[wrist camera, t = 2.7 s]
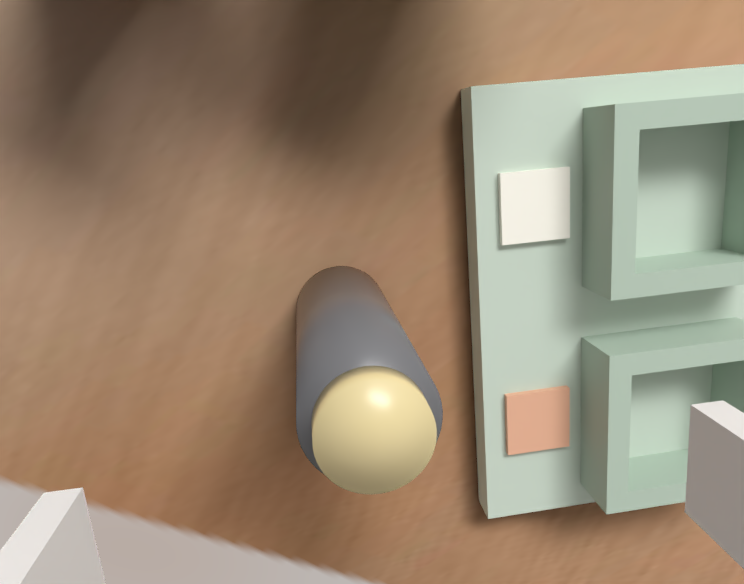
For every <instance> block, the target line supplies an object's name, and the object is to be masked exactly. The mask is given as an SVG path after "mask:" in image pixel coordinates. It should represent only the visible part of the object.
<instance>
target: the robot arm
mask: <svg viewBox="0 0 744 584" xmlns="http://www.w3.org/2000/svg"><path fill="white" fill-rule="evenodd" d="M685 513H686V514H687V515H688V516H689V517H690V518H691V519H692V520H693V521H694V522H696V523H697V524H698V525H699V526H700V527H701V528H702V529H703V530H704V531H705V532H706V533H707V534H708V535H709V536H710V537H711V538H712V539H713V540H714V541H715V542H716V543H717V544H718V545H719V546H720V547H722V548H723V549H724V550H725V551H726V552H727V553H728V554H729V555H730V556H731V557H732V558H733V559H734V560H735V561H736V562H737V563H738V564H739V565H740V566H741V567H742V568H743V569H744V413H743V412H741V411H740V410H738V409H736V408H735V407H733V406H731V405H730V404H728V403H727V402H725V401H723V400H722V401H714V402H707V403H700V404H692V405H691V409H690V427H689V445H688V462H687V480H686V498H685ZM0 584H106V582H105V578H104V574H103V569H102V565H101V561H100V557H99V553H98V549H97V544H96V541H95V536H94V532H93V528H92V524H91V520H90V515H89V512H88V507H87V503H86V499H85V495H84V491H83V488H76V489H69V490H61V491H54V492H47V493H43V494H42V496H41V497H40V498H39V500H38V501H37V502H36V504H35V505H34V507H33V508H32V509H31V510H30V512H29V513H28V514H27V516H26V517H25V518H24V520H23V521H22V522H21V524H20V525H19V526H18V528H17V529H16V530H15V532H14V533H13V534H12V536H11V537H10V538H9V540H8V541H7V542H6V544H5V545H4V546H3V548H2V549H1V550H0Z"/></svg>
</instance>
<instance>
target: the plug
mask: <svg viewBox="0 0 744 584" xmlns="http://www.w3.org/2000/svg"><path fill="white" fill-rule="evenodd" d="M442 416H443V411H442V403H441V399H440V396H439V393H438V390H437V388H436V386H435V384H434V382H433V381H432V379H431V377H430V375H429V374H428V372H427V370H426V368H425V367H424V365H423V363H422V361H421V360H420V358H419V356H418V354H417V353H416V351H415V349H414V347H413V346H412V344H411V342H410V340H409V339H408V337H407V335H406V333H405V332H404V330H403V328H402V326H401V325H400V323H399V321H398V319H397V318H396V316H395V314H394V312H393V311H392V309H391V307H390V305H389V304H388V302H387V300H386V298H385V297H384V295H383V293H382V291H381V290H380V288H379V286H378V285H377V283H376V282H375V281H374V280H373V279H372V278H371V277H370V276H369V275H368V274H366V273H365V272H363V271H361V270H359V269H356V268H352V267H347V266H336V267H330V268H327V269H324V270H322V271H320V272H318V273H317V274H315V275H314V276H313V277H311V278H310V279H309V280H308V281H307V282H306V284H305V285H304V287H303V288H302V290H301V292H300V294H299V297H298V301H297V317H296V426H297V434H298V439H299V442H300V445H301V448H302V450H303V451H304V453H305V455H306V457H307V458H308V459H309V461H310V462H311V463H312V464H313V465H314V466H315V467H316V468H317V469H318V470H319V471H320V472H322V473H323V474H324V475H326V476H327V477H328V478H329V480H331V481H332V482H333V483H335V484H336V485H338V486H339V487H341V488H343V489H346V490H348V491H351V492H355V493H360V494H381V493H386V492H390V491H393V490H396V489H398V488H400V487H402V486H404V485H406V484H408V483H409V482H411V481H412V480H413V479H414V478H416V477H417V476H418V475H419V474H420V473H421V472H422V471H423V469H424V468H425V467H426V466H427V464H428V462H429V461H430V459H431V457H432V454H433V452H434V449H435V445H436V442H437V439H438V437H439V434H440V431H441V426H442Z"/></svg>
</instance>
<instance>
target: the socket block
mask: <svg viewBox="0 0 744 584" xmlns="http://www.w3.org/2000/svg"><path fill="white" fill-rule="evenodd" d="M461 107H462V130H463V152H464V175H465V198H466V220H467V243H468V266H469V288H470V311H471V333H472V356H473V379H474V401H475V424H476V447H477V469H478V492H479V502H480V504H481V506H482V508H483V510H484V512H485V514H486V516H487V518H488V519H491V518H498V517H504V516H510V515H516V514H523V513H529V512H535V511H542V510H548V509H554V508H561V507H567V506H573V505H580V504H586V503H592V502H596V503H597V504H598V505H599V506H600V507H601V509H602V510H603V511H604V512H605V513H606V515H607V514H613V513H619V512H625V511H631V510H638V509H644V508H650V507H656V506H663V505H669V504H675V503H681V502H685V498H686V480H687V462H688V445H689V427H690V409H691V405H692V404H700V403H707V402H714V401H722V400H723V401H725V402H727V403H728V404H730V405H731V406H733V407H735V408H736V409H738V410H740V411H741V412H743V413H744V64H739V65H727V66H714V67H702V68H690V69H678V70H666V71H654V72H641V73H629V74H617V75H605V76H593V77H580V78H568V79H556V80H544V81H532V82H520V83H507V84H495V85H483V86H471V87H468V88H465V89H462V90H461Z"/></svg>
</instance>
